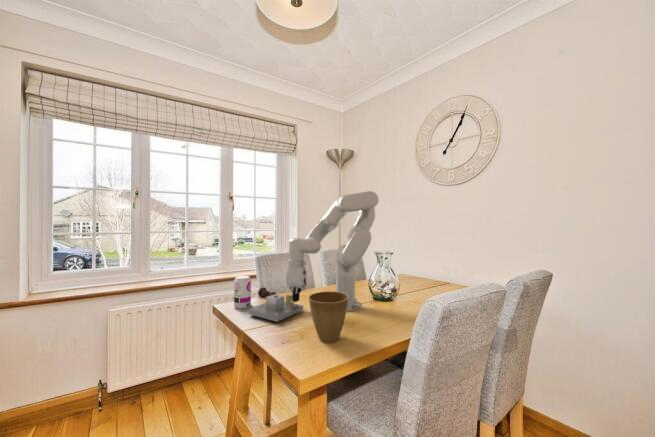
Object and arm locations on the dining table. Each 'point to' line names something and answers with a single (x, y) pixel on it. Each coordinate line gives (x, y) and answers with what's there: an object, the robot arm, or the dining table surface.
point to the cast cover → (275, 302)
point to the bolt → (265, 292)
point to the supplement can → (242, 292)
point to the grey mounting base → (277, 314)
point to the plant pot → (328, 314)
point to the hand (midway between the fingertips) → (296, 300)
